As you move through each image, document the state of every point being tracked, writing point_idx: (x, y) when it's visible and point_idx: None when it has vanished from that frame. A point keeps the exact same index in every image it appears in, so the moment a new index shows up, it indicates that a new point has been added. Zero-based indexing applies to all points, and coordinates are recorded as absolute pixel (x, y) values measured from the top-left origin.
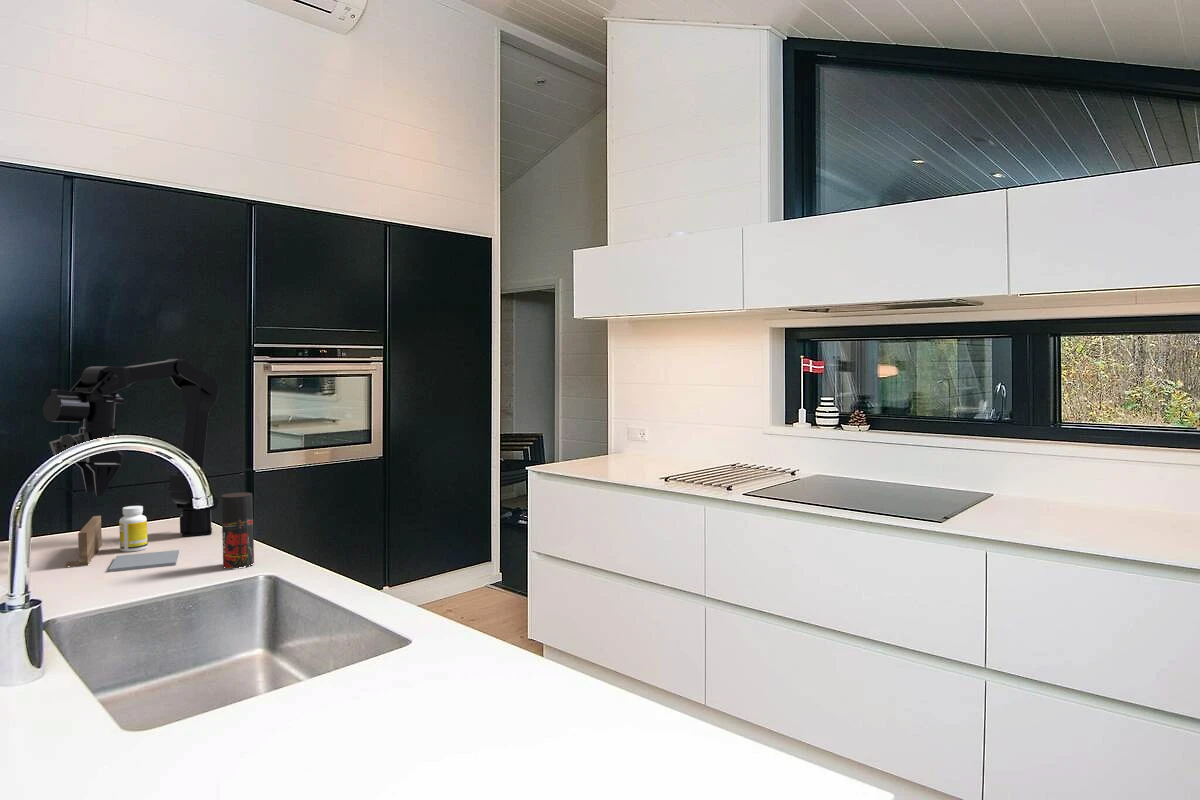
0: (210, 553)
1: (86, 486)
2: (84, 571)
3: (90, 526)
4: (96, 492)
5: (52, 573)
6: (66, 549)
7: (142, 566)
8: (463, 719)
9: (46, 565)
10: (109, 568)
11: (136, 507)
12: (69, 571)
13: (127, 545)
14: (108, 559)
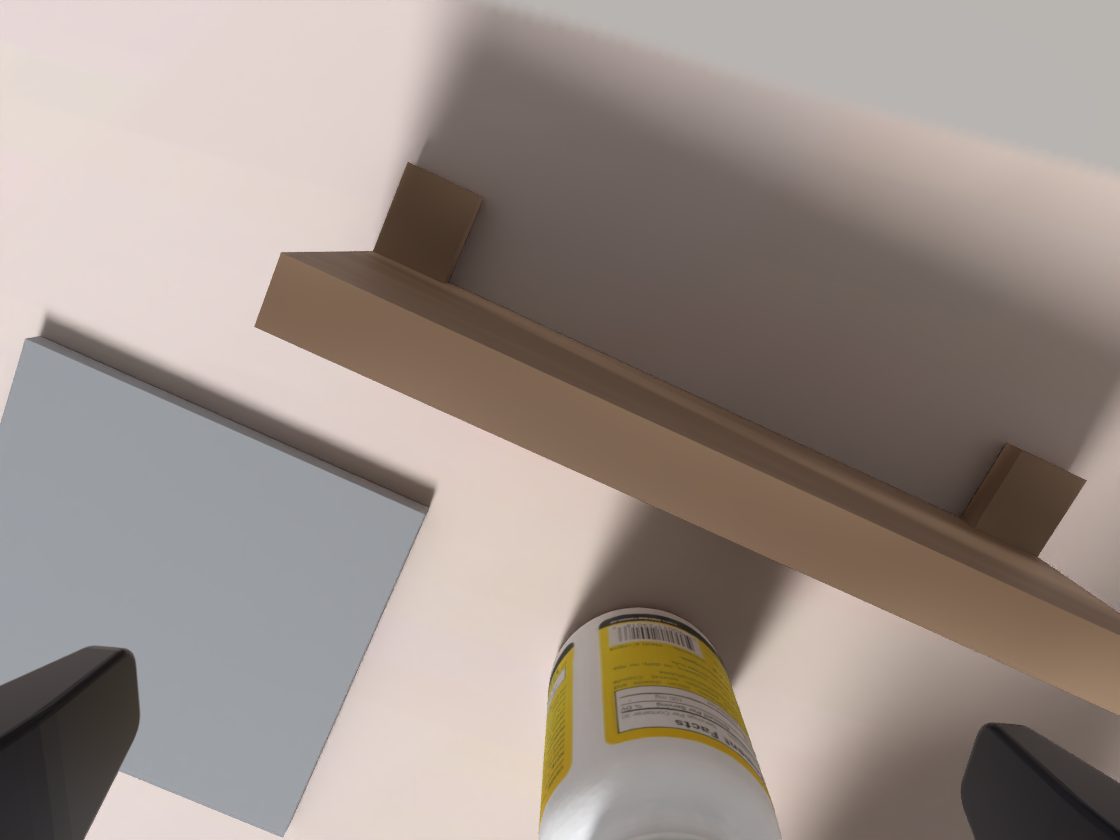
0: None
1: (1072, 809)
2: (185, 227)
3: (591, 464)
4: (23, 678)
5: (292, 42)
6: (1090, 367)
7: None
8: None
9: (614, 87)
10: (37, 347)
11: None
12: (265, 151)
13: (574, 650)
14: (450, 462)
